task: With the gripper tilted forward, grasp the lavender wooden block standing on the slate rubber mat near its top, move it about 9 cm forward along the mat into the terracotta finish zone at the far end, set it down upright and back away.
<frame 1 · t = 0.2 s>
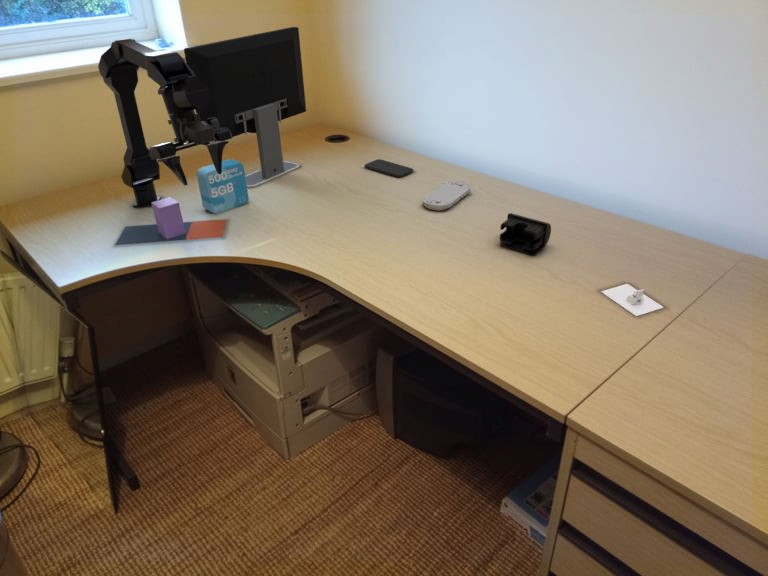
hand: (203, 179, 139), 15 cm above the table, tool pointing down, fingers open, 9 cm apart
game console: (446, 200, 164), on the table
end cap: (523, 246, 140), on the table
block: (172, 233, 149), resting on mat
phone: (388, 170, 185), on the table
computer monitor: (267, 175, 184), on the table
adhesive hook: (631, 300, 119), on the table
mat: (173, 232, 150), on the table
data package: (227, 207, 163), on the table
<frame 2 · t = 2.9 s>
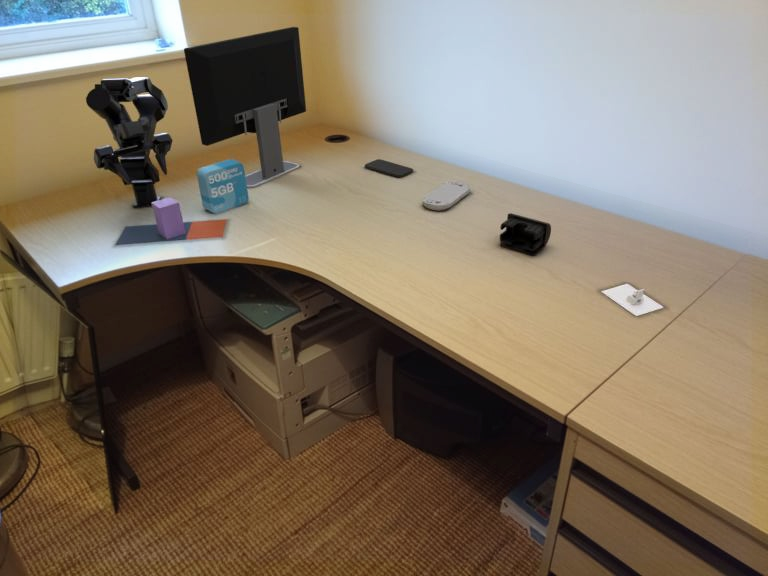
hand: (148, 178, 147), 13 cm above the table, tool tilted 45°, fingers open, 9 cm apart
nothing on the table moved.
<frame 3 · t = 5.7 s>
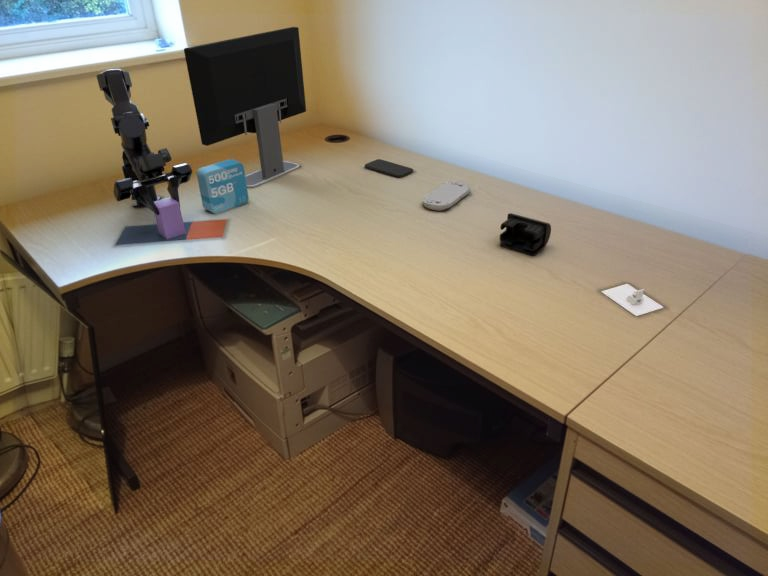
hand: (168, 211, 145), 7 cm above the table, tool tilted 45°, fingers closed on block, 5 cm apart
block: (172, 233, 149), resting on mat, touching gripper
everything else where it was.
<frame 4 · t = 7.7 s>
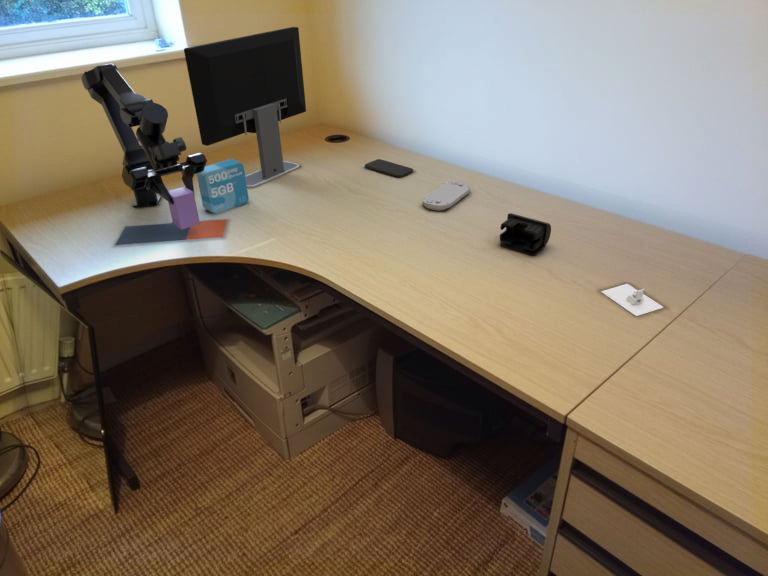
hand: (183, 200, 144), 9 cm above the table, tool tilted 45°, fingers closed on block, 5 cm apart
block: (186, 223, 148), point 3 cm above the table, touching gripper
everything else where it was.
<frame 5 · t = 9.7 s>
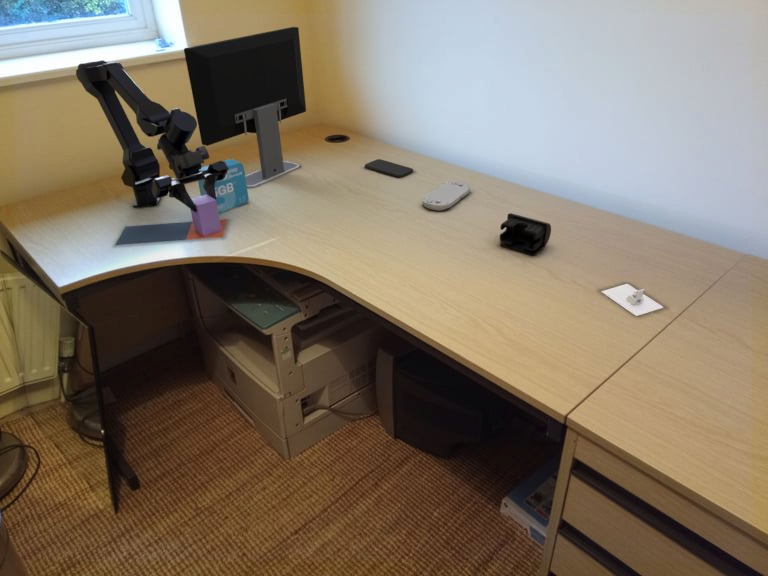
hand: (206, 208, 145), 7 cm above the table, tool tilted 45°, fingers closed on block, 5 cm apart
block: (208, 230, 150), resting on mat, touching gripper
everything else where it was.
when the fingers open (7 cm above the table, at t = 9.9 s): block stays where it is, resting on mat.
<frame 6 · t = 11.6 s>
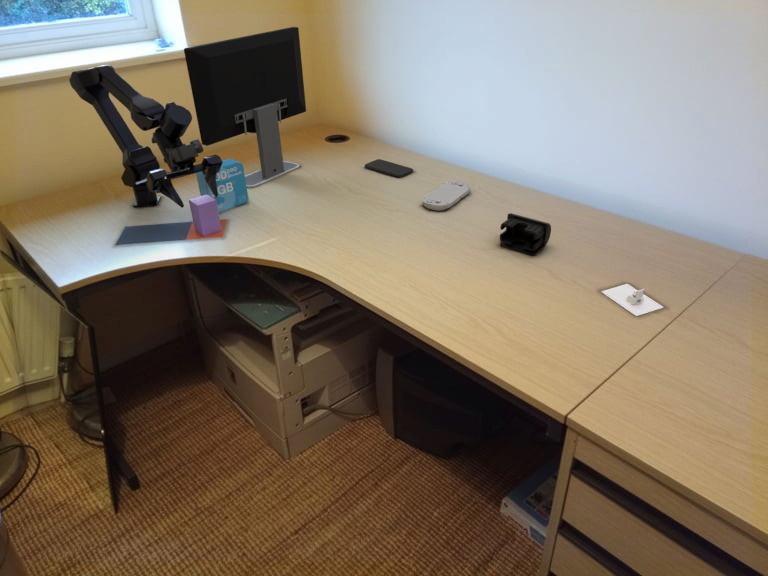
hand: (200, 201, 147), 8 cm above the table, tool tilted 45°, fingers open, 9 cm apart
block: (208, 230, 150), resting on mat
data package: (227, 207, 163), on the table, touching gripper
everything else where it was.
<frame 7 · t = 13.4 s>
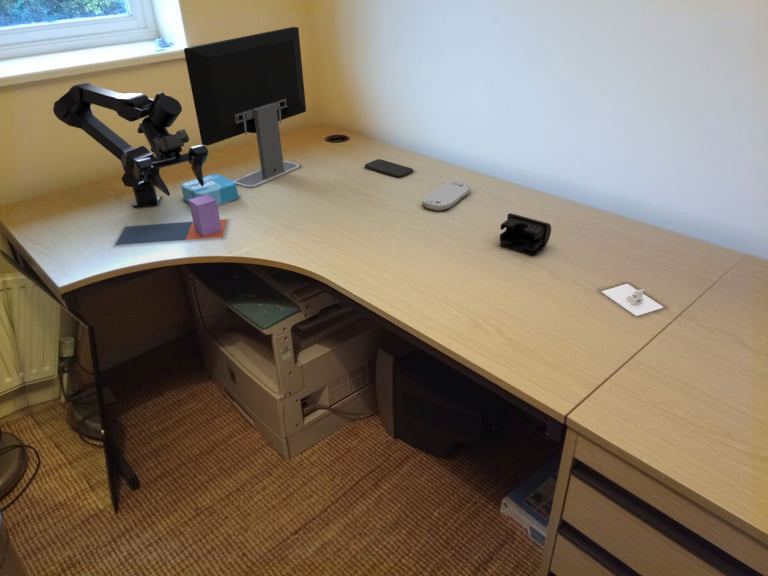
hand: (186, 190, 150), 9 cm above the table, tool tilted 45°, fingers open, 9 cm apart
data package: (221, 196, 163), point 2 cm above the table
everything else where it was.
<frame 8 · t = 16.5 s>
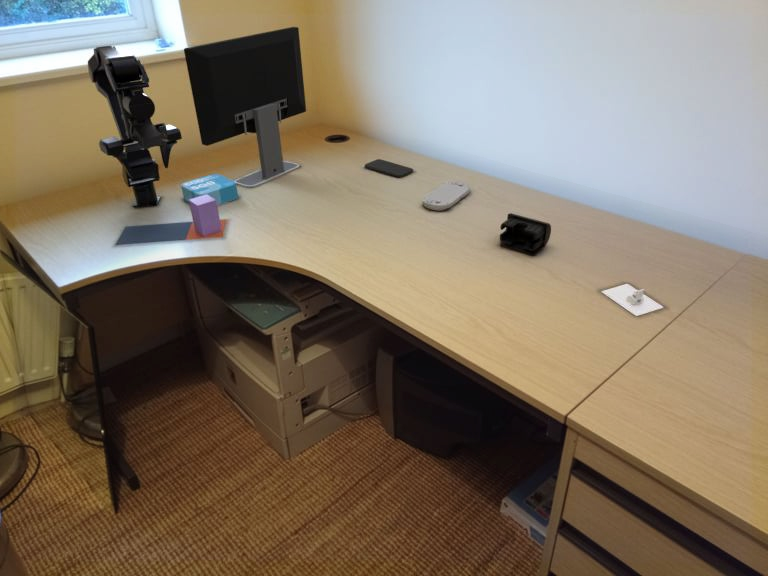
hand: (149, 172, 151), 13 cm above the table, tool pointing down, fingers open, 9 cm apart
nothing on the table moved.
at the end: block 0.0 cm from the target spot, resting on mat; block tilted 0°; the gripper is holding nothing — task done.
